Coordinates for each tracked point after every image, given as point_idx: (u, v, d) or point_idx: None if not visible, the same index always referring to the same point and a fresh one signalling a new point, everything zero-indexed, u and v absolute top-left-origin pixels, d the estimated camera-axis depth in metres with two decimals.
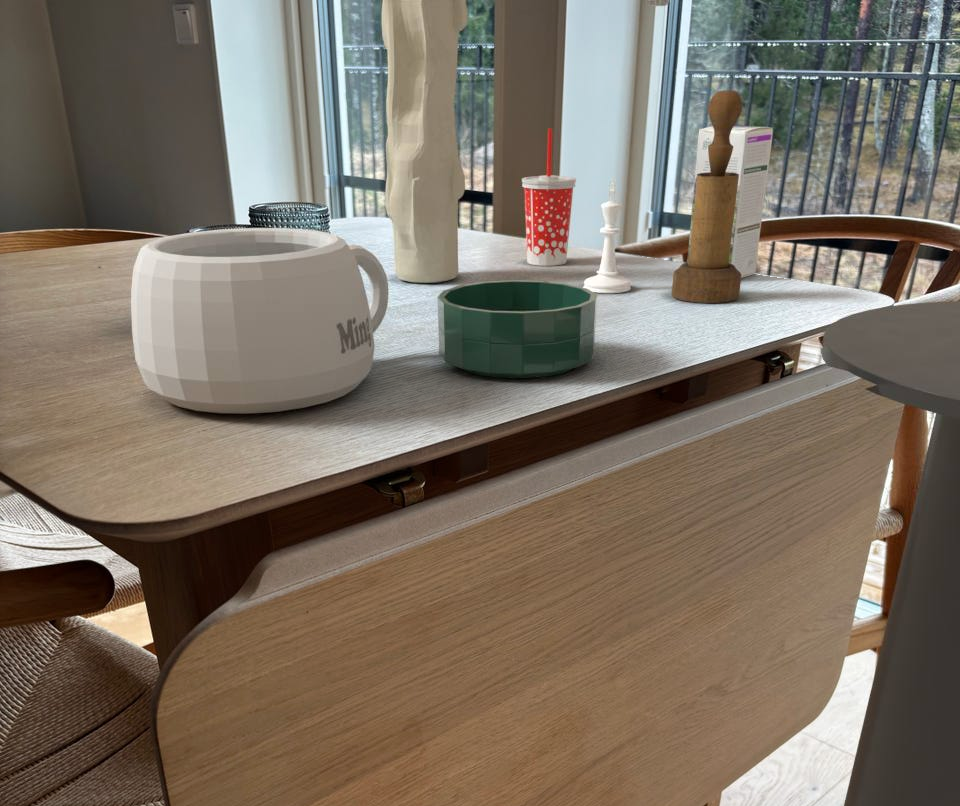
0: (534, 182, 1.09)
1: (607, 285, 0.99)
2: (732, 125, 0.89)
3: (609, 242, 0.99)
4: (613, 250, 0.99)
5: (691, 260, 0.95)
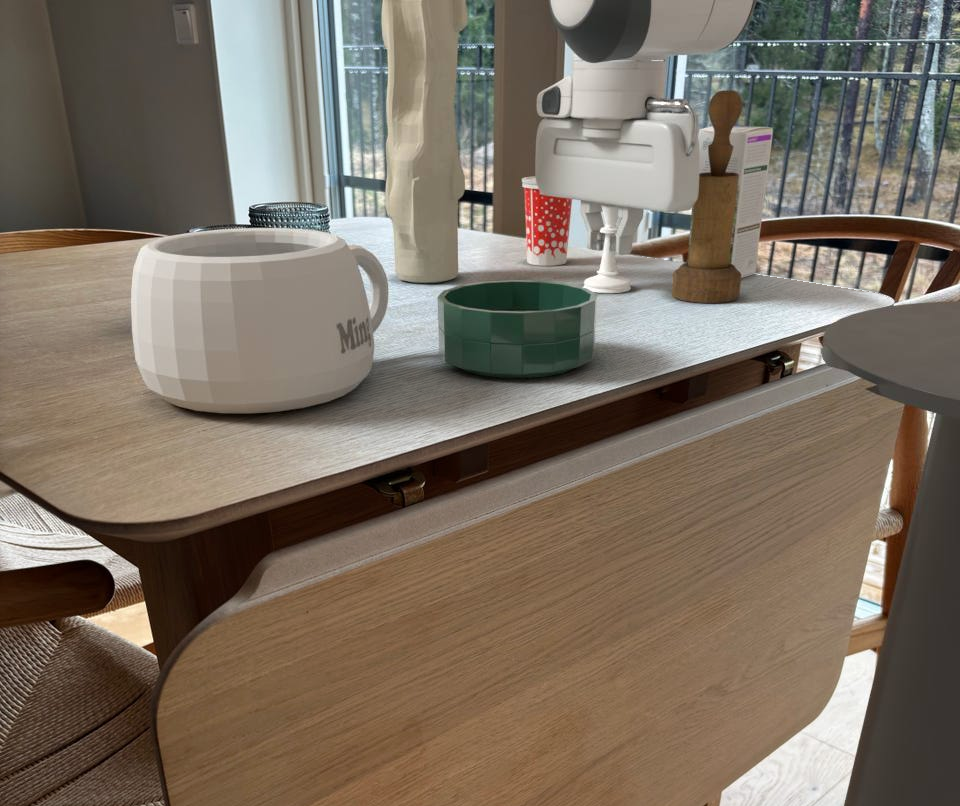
0: (534, 182, 1.09)
1: (607, 285, 0.99)
2: (732, 125, 0.89)
3: (609, 242, 0.99)
4: None
5: (691, 260, 0.95)
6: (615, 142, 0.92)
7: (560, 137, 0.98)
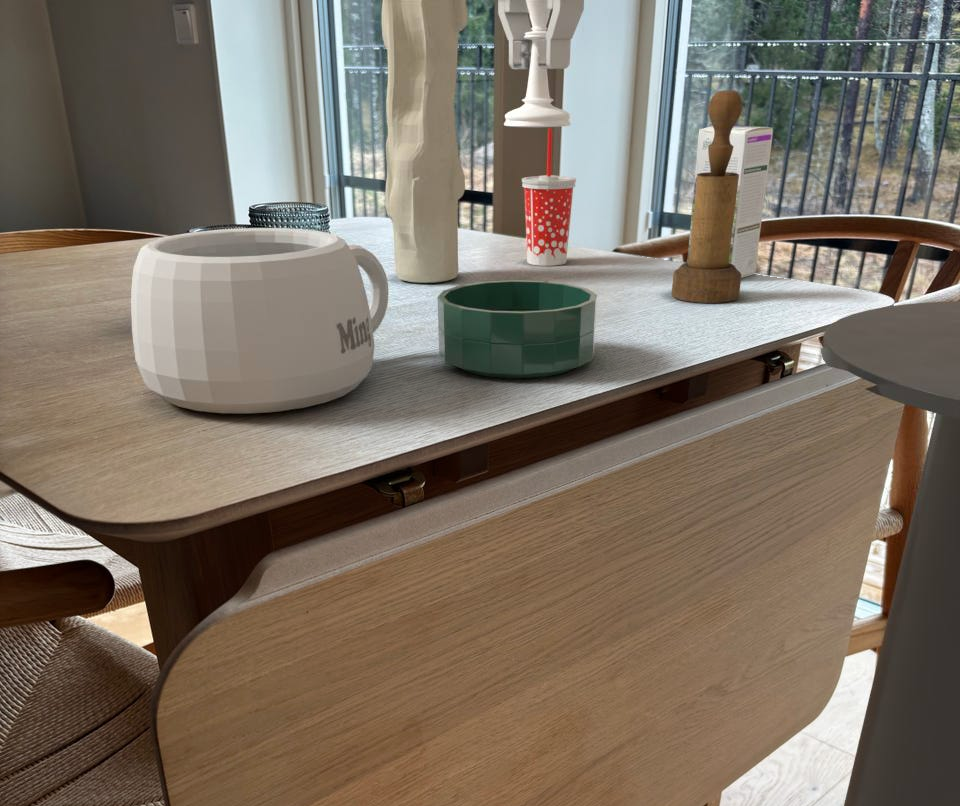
0: (534, 182, 1.09)
1: (536, 115, 0.70)
2: (732, 125, 0.89)
3: (538, 53, 0.69)
4: None
5: (691, 260, 0.95)
6: None
7: None
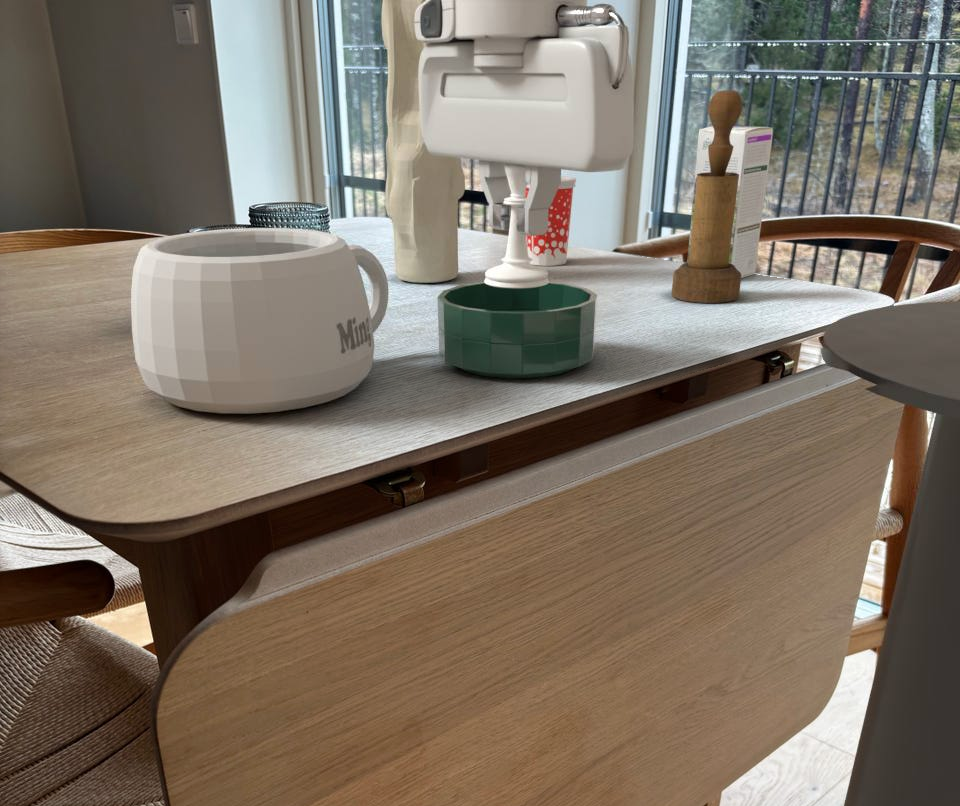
0: None
1: (515, 277, 0.72)
2: (732, 125, 0.89)
3: None
4: None
5: (691, 260, 0.95)
6: (516, 73, 0.65)
7: (448, 71, 0.70)
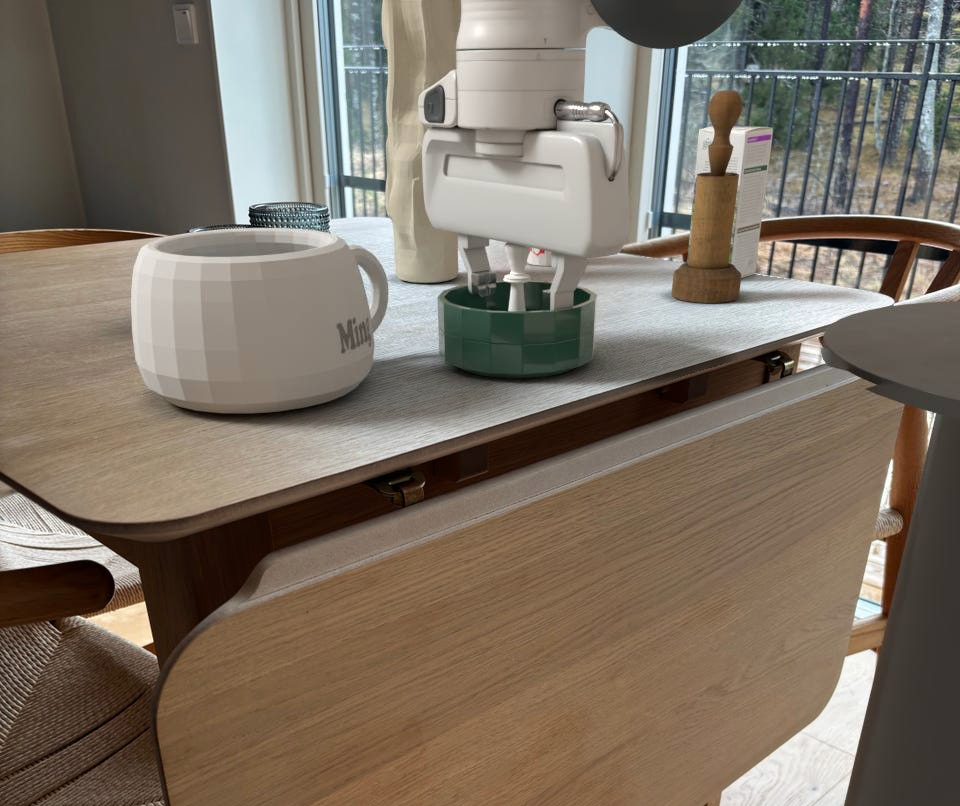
0: None
1: None
2: (732, 125, 0.89)
3: (516, 294, 0.74)
4: (522, 304, 0.74)
5: (691, 260, 0.95)
6: (516, 161, 0.68)
7: (451, 153, 0.73)
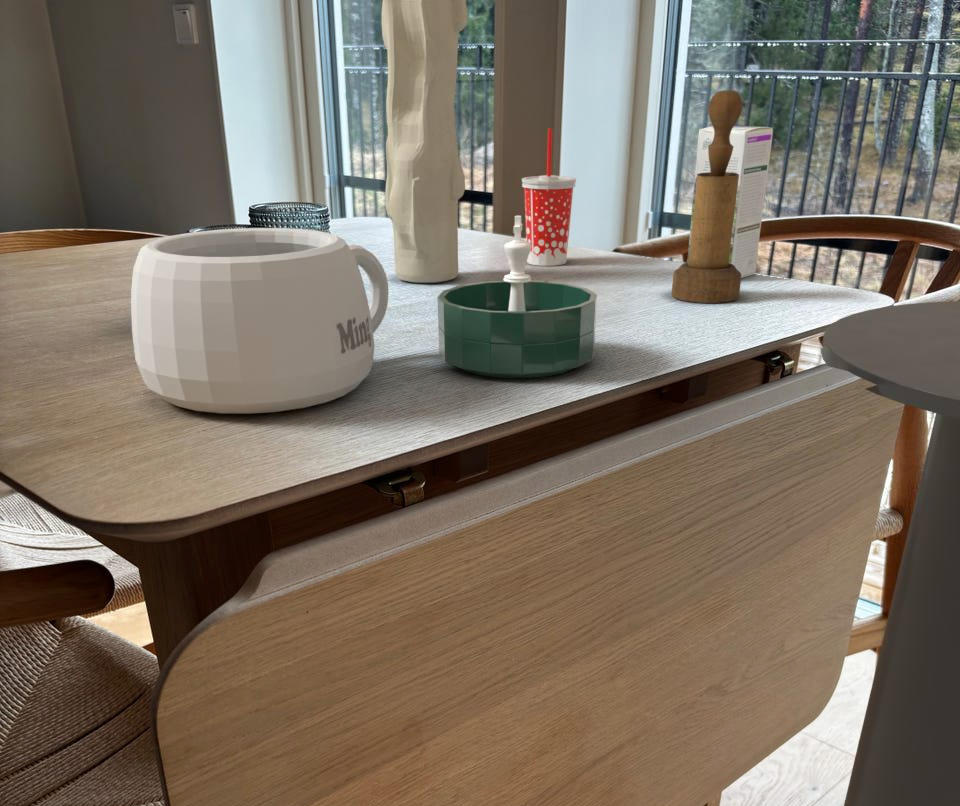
0: (534, 182, 1.09)
1: None
2: (732, 125, 0.89)
3: (516, 294, 0.74)
4: (522, 304, 0.74)
5: (691, 260, 0.95)
6: None
7: None
